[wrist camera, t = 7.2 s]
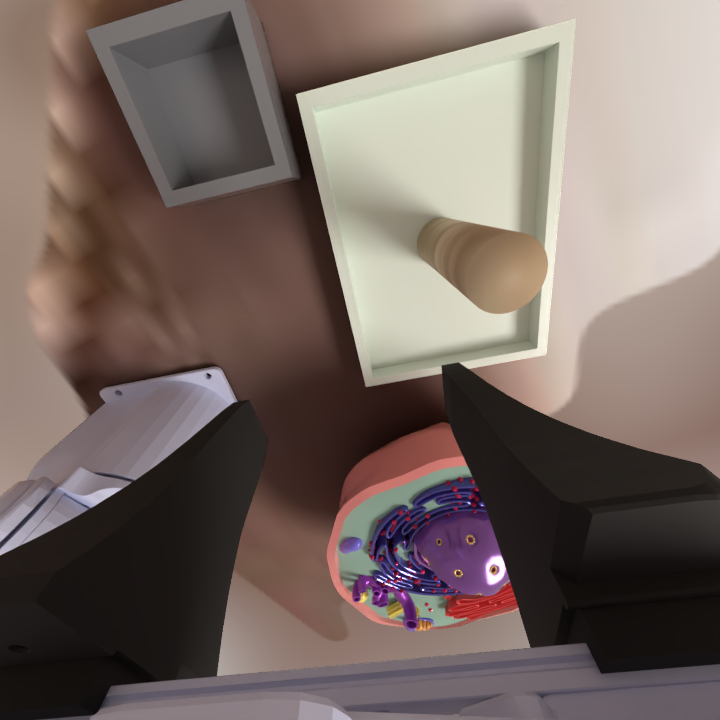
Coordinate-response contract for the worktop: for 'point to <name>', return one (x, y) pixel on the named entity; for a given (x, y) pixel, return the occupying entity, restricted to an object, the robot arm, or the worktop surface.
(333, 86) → the tray
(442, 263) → the dowel
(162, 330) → the worktop surface
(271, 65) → the grey square box
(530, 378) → the worktop surface
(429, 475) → the cell model
